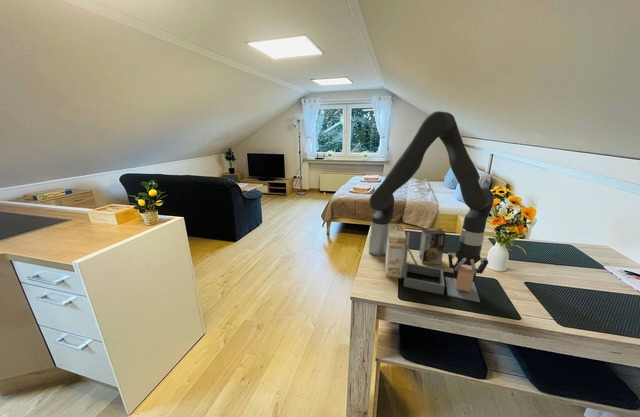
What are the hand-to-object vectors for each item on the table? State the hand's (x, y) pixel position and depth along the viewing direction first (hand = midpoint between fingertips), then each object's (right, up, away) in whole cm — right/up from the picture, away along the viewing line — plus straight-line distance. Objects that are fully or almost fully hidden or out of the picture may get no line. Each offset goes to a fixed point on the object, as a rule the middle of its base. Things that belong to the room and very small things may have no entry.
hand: (463, 278), depth 99 cm
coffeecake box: (-23, 0, +17) cm, 29 cm away
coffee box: (-3, +2, +23) cm, 24 cm away
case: (-13, -3, +7) cm, 15 cm away
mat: (0, -5, +1) cm, 5 cm away
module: (0, -3, +1) cm, 3 cm away
